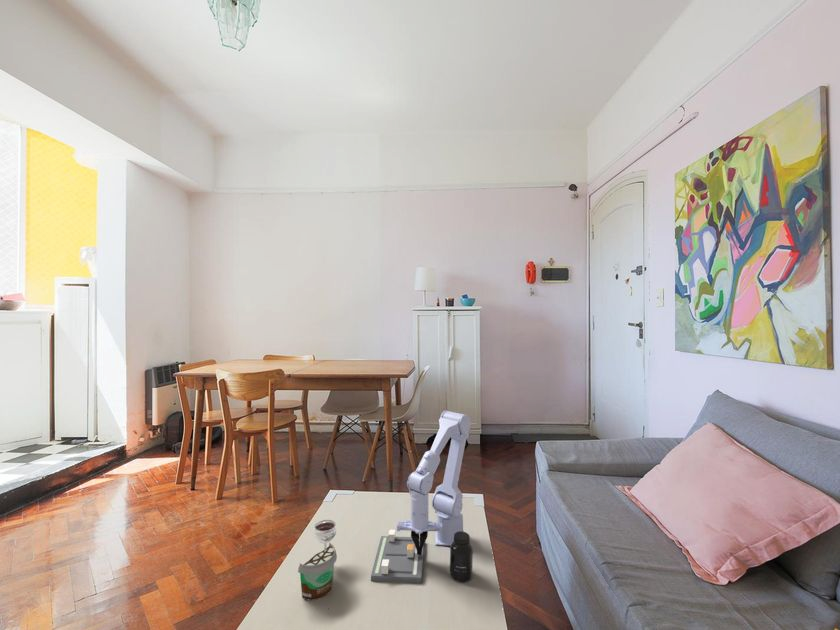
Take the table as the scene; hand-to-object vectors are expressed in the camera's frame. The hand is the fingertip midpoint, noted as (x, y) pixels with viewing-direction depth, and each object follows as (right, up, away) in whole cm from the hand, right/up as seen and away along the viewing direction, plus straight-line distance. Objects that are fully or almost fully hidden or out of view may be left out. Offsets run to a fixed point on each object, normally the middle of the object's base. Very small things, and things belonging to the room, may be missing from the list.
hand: (419, 553), depth 120 cm
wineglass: (-30, -3, -1) cm, 30 cm away
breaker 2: (-9, -1, +9) cm, 13 cm away
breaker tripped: (-3, -1, 0) cm, 3 cm away
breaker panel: (-6, -2, 0) cm, 7 cm away
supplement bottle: (+13, -3, -7) cm, 15 cm away
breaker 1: (-10, -1, -7) cm, 13 cm away
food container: (-28, -3, -14) cm, 31 cm away
